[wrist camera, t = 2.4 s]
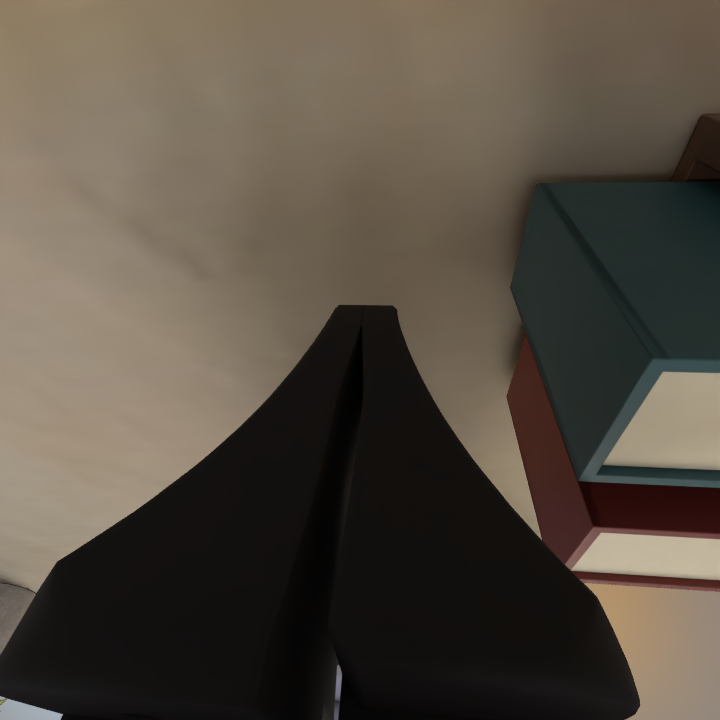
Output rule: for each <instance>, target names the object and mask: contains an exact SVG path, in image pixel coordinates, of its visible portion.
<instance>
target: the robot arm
mask: <svg viewBox="0 0 720 720" xmlns="http://www.w3.org/2000/svg"><path fill="white" fill-rule="evenodd" d="M0 696H2V697H5V698H8V699H11V700H15V701H18V702H22V703H25V704H29V705H32V706H36V707H40V708H43V709H47V710H50V711H54V712H57V713H61V714H63V716H62V718H61V720H625V719H627V718H629V717H631V716H633V715H634V714H636V712H637V710H638V708H639V707H640V699H639V695H638V692H637V689H636V686H635V682H634V679H633V676H632V673H631V670H630V668H629V665H628V662H627V660H626V657H625V655H624V653H623V651H622V648H621V646H620V644H619V642H618V639H617V637H616V635H615V632H614V630H613V628H612V626H611V624H610V622H609V620H608V618H607V616H606V614H605V612H604V610H603V608H602V606H601V604H600V602H599V600H598V598H597V597H596V595H595V594H594V593H593V592H592V591H591V590H590V589H589V588H588V587H587V586H586V585H585V584H584V583H583V582H582V581H581V580H580V579H579V578H578V577H577V576H576V575H575V574H574V573H573V572H572V571H571V570H570V569H569V568H568V567H567V566H566V565H565V564H564V563H563V562H562V561H561V560H560V559H559V558H558V557H557V556H556V555H555V554H554V553H553V552H552V550H551V549H550V548H549V547H548V546H547V545H546V544H545V543H544V542H543V541H542V540H541V539H540V538H539V537H538V536H537V535H536V534H535V532H534V531H533V530H532V529H531V528H530V527H529V526H528V525H527V523H526V522H525V521H524V520H523V519H522V518H521V517H520V516H519V515H518V513H517V512H516V511H515V510H514V509H513V508H512V507H511V506H510V504H509V503H508V502H507V501H506V500H505V498H504V497H503V496H502V495H501V493H500V492H499V491H498V490H497V488H496V487H495V486H494V485H493V484H492V482H491V481H490V480H489V479H488V477H487V476H486V475H485V474H484V472H483V471H482V470H481V469H480V468H479V466H478V465H477V464H476V463H475V461H474V460H473V459H472V457H471V456H470V454H469V453H468V452H467V450H466V449H465V448H464V446H463V445H462V443H461V442H460V441H459V439H458V438H457V436H456V435H455V433H454V432H453V430H452V429H451V427H450V426H449V424H448V423H447V421H446V420H445V418H444V417H443V415H442V413H441V412H440V410H439V408H438V407H437V405H436V403H435V402H434V400H433V398H432V396H431V395H430V393H429V391H428V389H427V387H426V385H425V384H424V382H423V380H422V378H421V376H420V374H419V372H418V370H417V367H416V365H415V363H414V361H413V359H412V357H411V354H410V352H409V350H408V347H407V345H406V342H405V339H404V336H403V334H402V331H401V327H400V324H399V319H398V314H397V309H396V308H395V307H393V306H383V305H339V306H338V307H336V308H335V310H334V311H333V313H332V315H331V316H330V318H329V320H328V321H327V323H326V324H325V326H324V328H323V329H322V331H321V332H320V334H319V335H318V336H317V338H316V339H315V341H314V342H313V344H312V345H311V346H310V348H309V349H308V350H307V352H306V353H305V354H304V356H303V357H302V358H301V360H300V361H299V362H298V364H297V365H296V366H295V368H294V369H293V370H292V371H291V372H290V373H289V375H288V376H287V377H286V378H285V379H284V381H283V382H282V383H281V384H280V385H279V386H278V388H277V389H276V390H275V391H274V392H273V393H272V395H271V396H270V397H269V398H268V399H267V400H266V401H265V402H264V403H263V404H262V405H261V406H260V407H259V408H258V409H257V410H256V411H255V412H254V413H253V414H252V415H251V416H250V417H249V418H248V419H247V420H246V421H245V422H244V423H243V424H242V425H241V426H240V427H239V428H238V429H237V430H236V431H235V432H234V433H233V434H231V435H230V436H229V437H228V438H227V439H226V440H225V441H224V442H222V443H221V444H220V445H219V446H218V447H217V448H216V449H215V450H214V451H212V452H211V453H210V454H209V455H208V456H206V457H205V458H204V459H203V460H202V461H200V462H199V463H198V464H197V465H196V466H194V467H193V468H192V469H190V470H189V471H188V472H187V473H185V474H184V475H183V476H181V477H180V478H179V479H177V480H176V481H175V482H173V483H172V484H171V485H169V486H168V487H167V488H166V489H164V490H163V491H162V492H160V493H159V494H158V495H156V496H155V497H154V498H152V499H151V500H150V501H148V502H147V503H146V504H144V505H143V506H141V507H140V508H139V509H137V510H136V511H134V512H133V513H131V514H130V515H128V516H127V517H125V518H124V519H122V520H121V521H119V522H118V523H116V524H115V525H113V526H112V527H110V528H109V529H107V530H106V531H104V532H103V533H101V534H100V535H98V536H96V537H95V538H93V539H92V540H90V541H89V542H87V543H86V544H84V545H83V546H81V547H80V548H78V549H77V550H75V551H74V552H72V553H70V554H69V555H67V556H66V557H64V558H62V559H61V560H59V561H57V563H56V564H55V566H54V567H53V569H52V570H51V572H50V573H49V575H48V576H47V578H46V579H45V581H44V583H43V584H42V586H41V587H40V589H39V590H38V592H37V593H36V595H35V597H34V598H33V600H32V602H31V604H30V605H29V607H28V609H27V610H26V612H25V614H24V615H23V617H22V619H21V621H20V622H19V624H18V626H17V627H16V629H15V631H14V633H13V634H12V636H11V638H10V639H9V641H8V643H7V644H6V646H5V648H4V650H3V651H2V653H1V655H0Z"/></svg>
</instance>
